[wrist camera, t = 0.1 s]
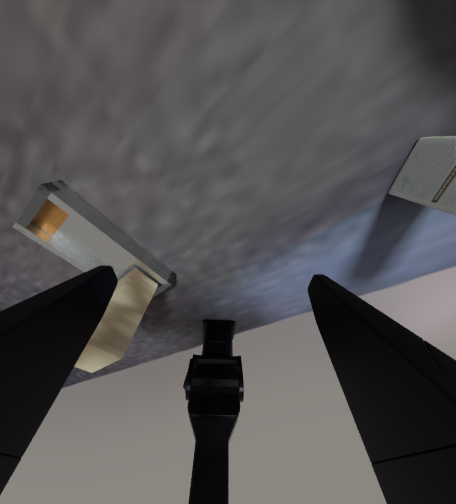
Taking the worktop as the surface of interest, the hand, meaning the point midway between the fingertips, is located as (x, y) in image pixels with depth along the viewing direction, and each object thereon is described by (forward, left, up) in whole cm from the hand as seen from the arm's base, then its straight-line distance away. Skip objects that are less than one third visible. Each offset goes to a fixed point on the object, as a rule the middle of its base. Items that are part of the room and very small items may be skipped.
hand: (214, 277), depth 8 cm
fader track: (-9, +16, -15) cm, 24 cm away
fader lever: (-13, +12, -13) cm, 23 cm away
